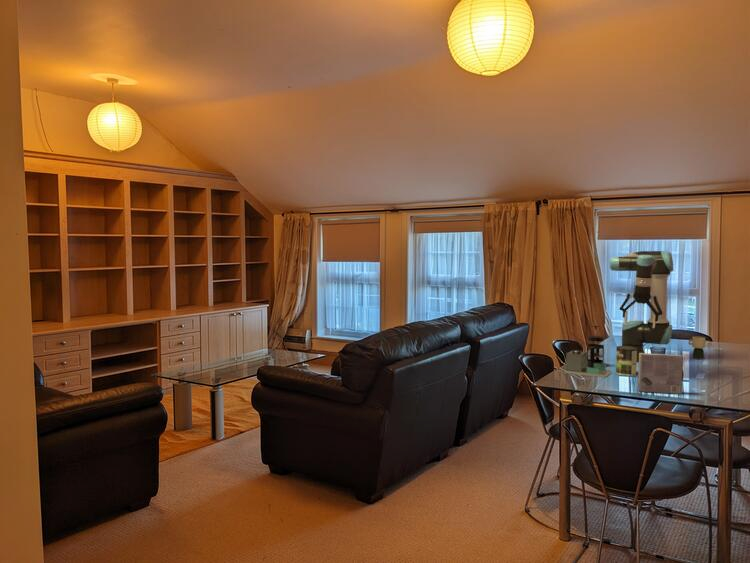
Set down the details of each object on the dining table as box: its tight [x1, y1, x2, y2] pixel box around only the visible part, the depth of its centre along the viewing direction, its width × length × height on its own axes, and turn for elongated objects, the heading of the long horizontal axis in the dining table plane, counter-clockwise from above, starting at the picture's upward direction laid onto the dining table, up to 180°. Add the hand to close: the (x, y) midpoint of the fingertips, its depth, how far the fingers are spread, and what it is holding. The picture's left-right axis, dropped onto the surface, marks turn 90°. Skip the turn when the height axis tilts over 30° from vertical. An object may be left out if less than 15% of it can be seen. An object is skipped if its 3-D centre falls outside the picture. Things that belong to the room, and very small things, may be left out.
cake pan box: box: [637, 352, 685, 395], centre depth 272 cm, size 19×5×18 cm, turn 77°
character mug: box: [688, 335, 710, 359], centre depth 355 cm, size 11×7×13 cm, turn 50°
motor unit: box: [563, 349, 612, 378], centre depth 315 cm, size 14×21×11 cm
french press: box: [586, 325, 605, 368], centre depth 332 cm, size 12×9×23 cm
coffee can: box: [615, 345, 638, 377], centre depth 312 cm, size 10×10×14 cm
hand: (639, 325), depth 305 cm, fingers open, 13 cm apart
